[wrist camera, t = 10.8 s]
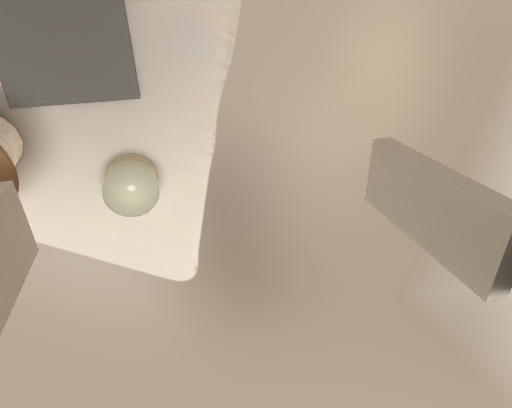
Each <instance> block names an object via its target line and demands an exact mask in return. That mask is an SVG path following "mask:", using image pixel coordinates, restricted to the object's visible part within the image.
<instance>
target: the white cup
mask: <svg viewBox="0 0 512 408" xmlns="http://www.w3.org/2000/svg"><path fill="white" fill-rule="evenodd" d="M0 145H1V146H2V147H3V149H4V150H5V151H6V152H7V154H8V155H9V157H10V158H11V160H12V162H13V164H14V166H15V167H16V164H17V162H18V160H19V159H20V157H21V156H22V150H23V141H22V139H21V137H20V135H19V133H18V131H17V129H16V128H15V127H14V126H13V125H11V124H10V123H9V122H8V121H7V120H5V119H4V118H3V117H0Z"/></svg>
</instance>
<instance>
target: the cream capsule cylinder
mask: <svg viewBox="0 0 512 408" xmlns="http://www.w3.org/2000/svg"><path fill="white" fill-rule="evenodd" d="M102 194H103V199H104V201H105V203H106V205H107V206H108V207H109V208H110V209H111V210H112V211H113V212H115V213H117V214H119V215H122V216H126V217H137V216H141V215H144V214H146V213H147V212H149V211H150V210H151V209H152V208H153V207H154V206H155V205H156V203H157V200H158V197H159V190H158V177H157V171H156V168H155V166H154V165H153V163H152V162H151V161H150V160H148V159H147V158H145V157H144V156H141V155H138V154H124V155H121V156H119V157H117V158H115V159H114V160H113V161H112V162H111V163H110V165H109V167H108V169H107V173H106V177H105V181H104V185H103V191H102Z"/></svg>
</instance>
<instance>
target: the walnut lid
mask: <svg viewBox="0 0 512 408" xmlns="http://www.w3.org/2000/svg"><path fill="white" fill-rule="evenodd" d="M4 181H13V183H14V185H15V188H16V191H17V194H18V191H19V181H18V175H17V172H16V168H15V166H14V164H13V162H12V160H11V158H10V157H9V155H8V154H7V152H6V151H5V150H4V149H3V147H2V146H1V145H0V182H4Z"/></svg>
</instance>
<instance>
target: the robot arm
mask: <svg viewBox="0 0 512 408" xmlns="http://www.w3.org/2000/svg"><path fill="white" fill-rule="evenodd" d="M365 200H366V201H367V202H369V203H370V204H371V205H372V206H373V207H374V208H376V209H377V210H378V211H379V212H380V213H382V214H383V215H384V216H385V217H386V218H388V219H389V220H390V221H391V222H392V223H393V224H394V225H396V226H397V227H398V228H399V229H400V230H402V231H403V232H404V233H405V234H406V235H407V236H409V237H410V238H411V239H412V240H413V241H414V242H416V243H417V244H418V245H419V246H420V247H421V248H423V249H424V250H425V251H426V252H428V253H429V254H430V255H431V256H432V257H433V258H435V259H436V260H437V261H438V262H439V263H440V264H441V265H443V266H444V267H445V268H446V269H447V270H449V271H450V272H451V273H452V274H453V275H454V276H456V277H457V278H458V279H459V280H460V281H462V282H463V283H464V284H465V285H466V286H467V287H469V288H470V289H471V290H472V291H473V292H474V293H476V294H477V295H478V296H479V297H480V298H481V299H483V300H484V301H485V302H489V301H493V300H497V299H501V298H505V297H508V295H509V293H510V290H511V288H512V199H510V198H508V197H506V196H504V195H502V194H500V193H498V192H496V191H494V190H492V189H490V188H488V187H487V186H485V185H483V184H480V183H479V182H477V181H475V180H473V179H471V178H469V177H467V176H465V175H463V174H461V173H459V172H457V171H455V170H453V169H451V168H449V167H447V166H445V165H443V164H441V163H440V162H437V161H436V160H433V159H432V158H430V157H427V156H426V155H424V154H422V153H420V152H418V151H416V150H414V149H412V148H410V147H408V146H406V145H404V144H402V143H400V142H398V141H396V140H394V139H392V138H391V137H388V138H380V139H373V145H372V153H371V160H370V168H369V174H368V182H367V189H366V196H365ZM37 252H38V247H37V245H36V242H35V239H34V237H33V234H32V231H31V228H30V226H29V223H28V220H27V218H26V215H25V212H24V210H23V207H22V204H21V202H20V199H19V196H18V194H17V191H16V188H15V185H14V183H13V181H4V182H0V335H1V333H2V331H3V328H4V326H5V324H6V321H7V319H8V317H9V315H10V313H11V310H12V308H13V306H14V304H15V302H16V299H17V297H18V295H19V293H20V290H21V288H22V286H23V284H24V282H25V279H26V277H27V275H28V273H29V270H30V268H31V266H32V263H33V261H34V259H35V257H36V255H37Z"/></svg>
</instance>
